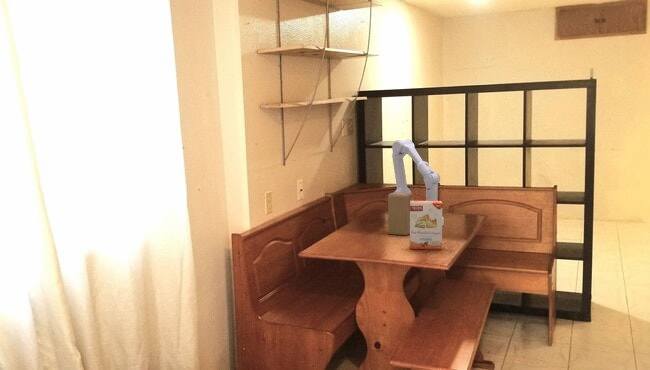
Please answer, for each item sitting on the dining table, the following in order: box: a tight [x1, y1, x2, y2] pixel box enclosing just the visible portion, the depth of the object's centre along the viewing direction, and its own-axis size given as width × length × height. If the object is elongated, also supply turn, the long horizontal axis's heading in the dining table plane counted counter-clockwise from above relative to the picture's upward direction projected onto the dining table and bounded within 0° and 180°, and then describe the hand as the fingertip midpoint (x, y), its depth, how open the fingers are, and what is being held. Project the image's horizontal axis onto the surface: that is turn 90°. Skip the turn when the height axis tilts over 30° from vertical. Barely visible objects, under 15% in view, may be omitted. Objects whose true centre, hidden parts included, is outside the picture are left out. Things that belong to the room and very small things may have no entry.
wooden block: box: [387, 191, 414, 237], centre depth 290 cm, size 10×10×20 cm
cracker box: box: [409, 200, 443, 251], centre depth 259 cm, size 14×6×21 cm, turn 82°
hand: (431, 223), depth 302 cm, fingers closed
